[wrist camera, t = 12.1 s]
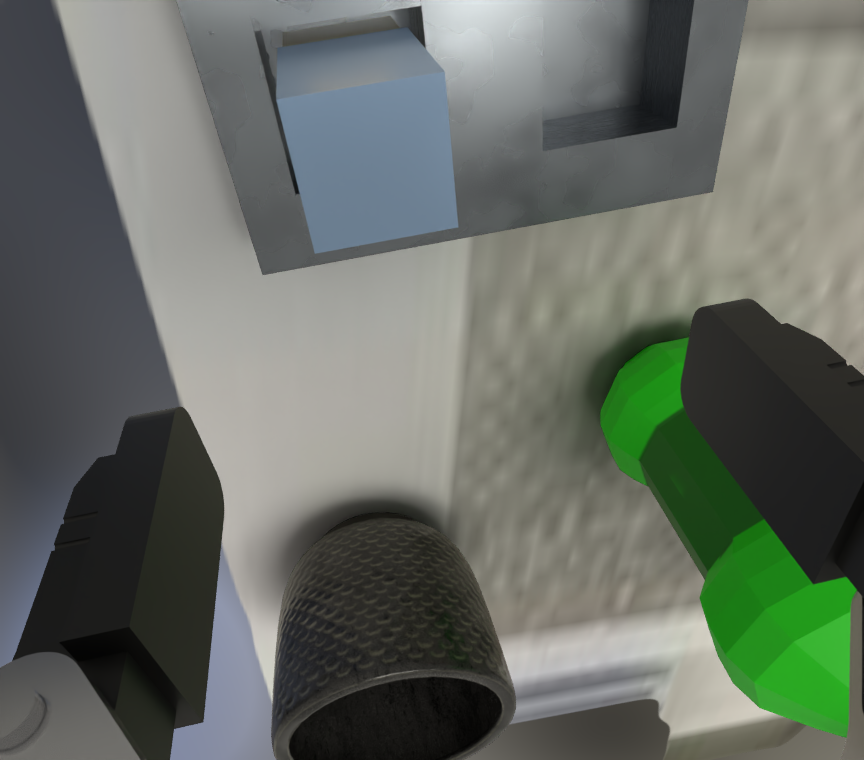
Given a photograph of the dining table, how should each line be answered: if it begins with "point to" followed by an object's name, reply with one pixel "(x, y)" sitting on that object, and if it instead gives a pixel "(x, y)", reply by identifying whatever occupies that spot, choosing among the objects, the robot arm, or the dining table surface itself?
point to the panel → (493, 106)
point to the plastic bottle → (733, 552)
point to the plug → (366, 132)
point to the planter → (386, 650)
